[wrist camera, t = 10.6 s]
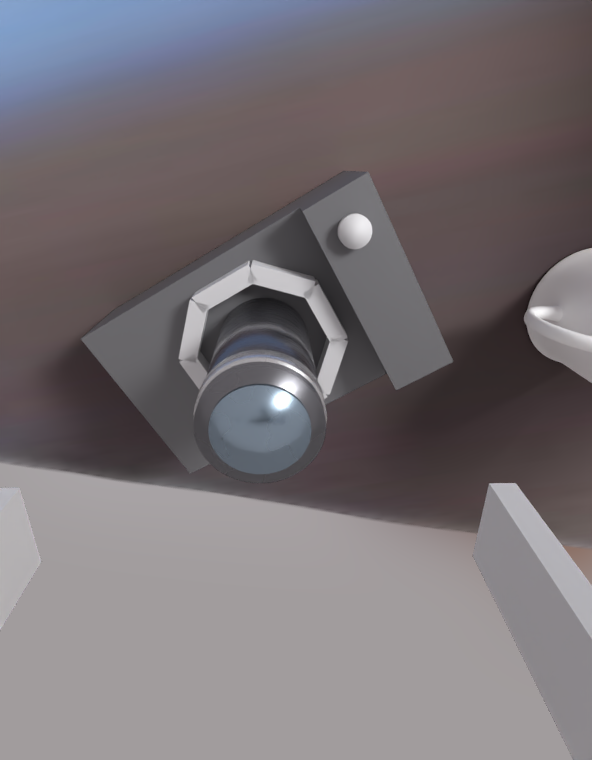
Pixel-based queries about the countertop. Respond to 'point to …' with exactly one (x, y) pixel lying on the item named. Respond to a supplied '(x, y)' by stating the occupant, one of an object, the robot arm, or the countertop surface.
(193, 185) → the countertop surface
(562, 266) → the mug
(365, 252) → the camera body
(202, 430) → the lens
